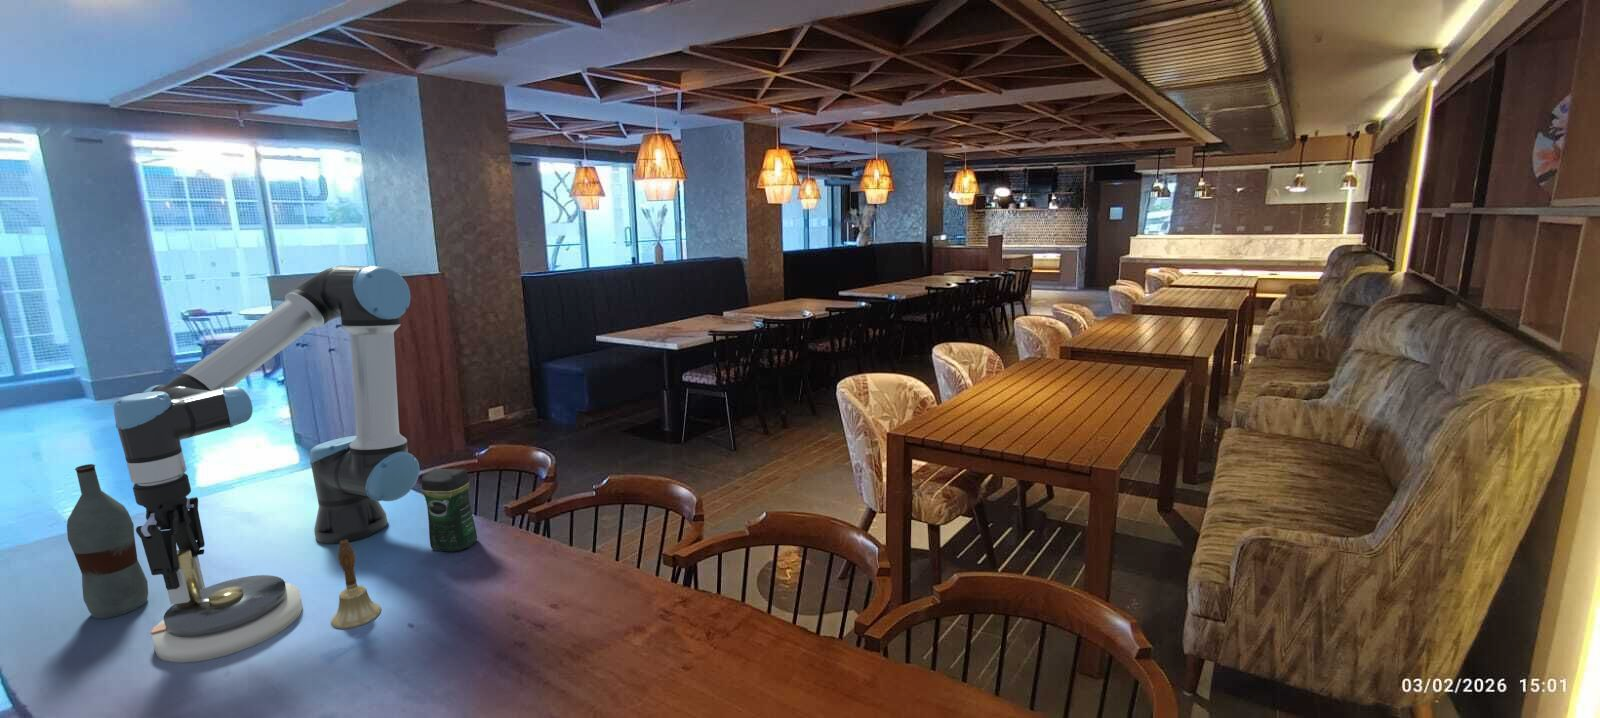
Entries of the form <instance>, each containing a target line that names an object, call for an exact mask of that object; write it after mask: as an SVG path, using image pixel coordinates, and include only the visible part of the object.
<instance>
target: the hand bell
mask: <svg viewBox="0 0 1600 718" xmlns="http://www.w3.org/2000/svg"><path fill="white" fill-rule="evenodd" d="M338 546H339V547H338V552H337V553H338V554H337V558H338V562H339V565H340V567H341V569H342V570H343V572H344V573H343V574H344V578H345V579H344V580H345V585H346V588H345V589H343V590H342V591H341V592H340V593H339V595H338V598H339V599H338V601H339V602H338V608H337V611H336V613H335V614H334V615H333V617H332V619H331V621H330V625H331V626H332V628H336V629H340V630H341V629H342V630H344V629H352V628H357V627H360V626H362V625H365V624H369V622H372V621H374V620H375V619H377V617H378V616H379V615H380V614H381V613H382V608H381V606H380V604H378V603H375V602H374V601H373V600H372V599H371V597H370V596H369V594H368V590H367V588H366V586H364V585H358V583H357V579H356V573H355V563H356V562H355V561H356V557H355V550H354V548H353V547H352V545H351V544H350V541H349V542H348V540H346V539H345V540H341V541H340V543H339V545H338Z"/></svg>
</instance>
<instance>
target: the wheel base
mask: <svg viewBox="0 0 1600 718" xmlns="http://www.w3.org/2000/svg"><path fill="white" fill-rule="evenodd" d="M285 586H286V591H287V596H286V598H285V600H284V601H283V602H282V603H281V604H280V605H279V606H278V607H277V608H275V609H274V610H273V611H271V612H270V613H268V614H266V615H265V616H263V617H261V618H259V619H257V620H255V621H252V622H250V623H248V624H245V625H243V626H240V627H237V628H234V629H231V630H228V631H224V632H220V633H216V634H212V635H206V636H200V637H176V636H173V635H171V634H169V633H168V632H167V631H166V627H165V623H164V618H163V619H162V620H160V622H159V623H157V624H156V625H154V626H153V628H152V629H151V632H150V634H151V638H152V643H153V648H154V651H155V655H156V656H157V657H158V658H159V659H160V660H163V661H166V662H169V663H182V664H183V663H195V662H196V663H197V662H202V661H207V660H208V661H209V660H213V659H216V658H220V657H225V656H228V655H232V654H236V653H238V652H241V651H243V650H246V649H248V648H251V647H254V646H257V645H258V644H260V643H263V642H265V641H267V640H268V639H271V638H273V637H275V636H276V635H277V634H279V633H281V632H282V631H284V630H285V629H287V628H288V627H289V626H290V625H292V624H293V623H294V622H295V621H296V620H297V619H298V618H299V616H300V615H301V613H302V611H303V601H302V598H301V592H300V591H301V590H299V588H298V586H296V585H294V584H292V583H289V582H285Z"/></svg>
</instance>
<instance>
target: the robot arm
mask: <svg viewBox="0 0 1600 718" xmlns="http://www.w3.org/2000/svg"><path fill="white" fill-rule="evenodd" d="M410 303H411V291H410V287H409V285H408V282H406V280H405V279H404V277H403V276H401V275H400V274H399V272H397V271H395V270H394V269H392V268H388V267H384V266H377V265H337V266H332V267H329V268H326V269H324V270H321V271H320V272H318V273H317V274H315V275H313V276H311V277H310V278H308V279H307V280H305V281H304V282H302V283H300V284H299V285H298V286H296V287H295V288H293V289H292V290H290V291H289V292H288V293H286V294H285V295H284V301H283V303H280V304H279V305H278V306H276V307H275V308H274V309H272V310H270V311H269V312H267V314H265V315H263V316H262V317H261V318H260V319H258V320H257V321H255V322H254V323H252V324H251V325H250V326H248V327H246V329H244V330H243V331H241V332H240V333H238V334H237V335H236V336H234V337H233V338H231V339H230V340H229V341H227V342H225V343H224V344H223V345H221V346H220V347H218V348H217V349H215V350H214V351H213V352H211V353H209V354H208V355H207V356H205V357H204V358H203V359H201V360H200V361H199V362H197V363H196V364H195V365H193V366H192V367H190V368H188V369H187V370H186V371H185V372H182V373H181V374H179V375H178V376H177V377H176V378H174V379H173V380H171V381H170V382H168V383H163V384H157V385H152V386H150V387H148V388H147V389H145V390H143V392H140V393H133V394H130V395H125V396H122V397H120V398H118V399H117V400H116V401H115V402H114V404H113V414H114V415H113V416H114V420H115V421H114V422H115V428H116V429H117V432H118V436H119V439H120V440H119V441H120V442H121V446H122V450H123V452H124V453H123V454H124V457H125V461H126V466H127V470H128V474H129V477H130V481H131V483H133V486H132V490H133V495H134V496H133V497H134V500H135V502H136V503H135V504H137V505H138V506H141V507H143V508H145V512H146V513H145V520H146V521H145V523H143V525H138V526H136V528H135V531H136V534H137V535H138V537H139V538H140V539H141V543H142V546H143V550H144V554H145V557H146V560H147V562H148V567H149V571H150V574H151V575H152V576H159V575H162V577H163V581H164V585H165V589H166V591H167V594H168V599H169V602H170V605H174V604H179V603H187V602H189V601H190V597H189V593H188V589H187V585H186V580H185V576H184V572H183V568H180V569H178V557H177V549H178V550H181V549H190V550H191V553H192V558H193V562H194V567H195V571H196V576H197V580H198V584H199V589H200V590H203V589H204V588H206V587H205V582H204V577H203V573H202V570H201V564H200V559H199V556H200V555H204V553H205V549H203V548H204V547H205V544H206V543H205V538H204V533H203V528H202V523H201V518H200V514H199V498H198V497H197V496H196V497H195V496H194V497H187V496H189V495H190V493H191V492H192V488H191V484H190V480H189V479H190V478H189V475H188V474H186V472H187V470H188V469H187V466H186V462H185V461H186V460H185V458H184V453H183V448H182V444H181V440H186V439H190V438H193V437H196V436H201V435H204V434H208V433H212V432H216V431H220V430H224V429H228V428H229V429H231V428H233V427H235V426H239V425H241V424H244V423H247V422H248V421H249V420H251V418H252V417H253V416H252V415H253V411H254V410H253V403H252V399H251V398H250V396H249V394H248V393H247V392H246V390H244V389H243V388H242V387H239V386H236V385H237V384H238V383H240V382H241V381H243V380H244V379H245V378H246V377H248V376H249V375H251V374H252V373H253V372H255V371H256V370H257V369H258V368H260V367H262V365H264V364H265V363H266V362H268V361H269V360H271V359H272V358H273V357H275V356H276V355H278V354H279V353H280V352H281V351H283V350H284V349H285V348H287V347H289V345H291V344H292V343H293V342H294V341H296V340H298V338H300V337H301V336H302V335H304V334H305V333H307V332H308V331H309V330H310V329H312V328H321V327H323V326H324V325H325V324H327V323H328V322H329V321H332V320H334V319H337V318H340V319H341V321H340V322H341V328H343V329H344V330H346V331H347V332H348V333H349V336H350V337H349V338H350V351H351V353H350V354H351V367H352V385H353V399H354V417H355V430H356V431H355V434H356V435H351V436H345V437H339V438H336V439H331V440H329V441H326V442H322V443H319V444H317V445H315V446H314V447H312V448H311V449H310V451H309V461H310V462H309V464H310V467H311V471H312V476H313V481H314V482H313V483H314V487H315V488H314V489H315V493H316V498H317V503H318V509H317V515H316V519H315V520H316V521H315V524H314V536H315V540H316V541H317V542H319V543H322V544H331V545H332V544H340V541H341V540H345V539H346V540H348V542H349V543H350V542H353V541H357V540H362V539H365V538H368V537H370V536H372V535H375V534H376V533H378V532H380V531H381V530H383V529H384V528H385V527H386V526H387V525H388V516H387V513H386V511H385V509H384V508H383V506H382V504H381V503H380V502H382V501H383V502H393V501H397V500H399V499H402V498H403V497H405V496H406V495H408V494H409V492H410V491H411V490H412V489H413V488H414V487H415V485H416V483H417V481H418V479H419V476H420V469H421V468H420V464H419V460H418V459H417V457H415V456H414V455H413V454H412V453H410V452H408V450H409V449H408V439H407V437H405V436H403V435H402V434H401V433H400V421H399V404H398V403H399V402H398V401H399V400H398V385H397V368H396V351H395V348H396V347H395V335H394V334H395V332H396V330H397V329H398V328H399V327H401V317H402V316H403V315H404V314H405V313H406V311H407V309H409V307H410ZM177 547H178V548H177ZM201 548H202V549H201Z"/></svg>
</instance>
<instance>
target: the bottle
mask: <svg viewBox="0 0 1600 718" xmlns="http://www.w3.org/2000/svg"><path fill="white" fill-rule="evenodd" d="M74 470H75V471H76V477H77V480H78V484H79V488H80V493H81V495H80V497H79V498H78V500H77V502H76V504H75V506H74V507H73V509H72V511H71V513H70V514H69V516H68V518H67V522H66V533H67V541H68V543H69V545H70V547H71V550H72V552H73V555H74V557H75V561H76V562H77V566H78V567H79V570H80V573H81V586H82V587H81V588H82V597H83V602H84V604H85V606H86V608H87V610H88V612H89V613H90V615H91V616H92V617H93V618H95V619H99V620H100V619H101V618H102V619H110V617H111V618H114V617H113V616H115V617H118V615H119V616H122V615H124V614H128V613H130V612H129V611H131V612H133V611H135V610H137V609H139V608H141V607H143V605H145V604H146V603H147V601H148V599H149V598H148V596H149V587H148V586H149V584H148V579H147V577H146V575H145V573H144V570H143V568H142V566H141V564H140V562H139V559H138V553H137V545H136V538H135V527H134V522H133V519H132V518H131V516H130V513H129V511H128V510H127V508H126V507H125V506H124V504H122V503H121V502H119V501H118V500H116V499H115V498H113V497H112V496H110V495H109V494H107V492H104V491H103V490H102V489H101V485H100V482H99V479H98V475H97V471H96V464H94V463H90V464H89V463H88V464H83V465H80V466H77V467H75V468H74ZM145 602H146V603H145ZM144 603H145V604H144ZM140 606H141V607H140ZM138 607H139V608H138ZM132 610H133V611H132ZM127 612H128V613H127ZM121 614H122V615H121Z"/></svg>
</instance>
